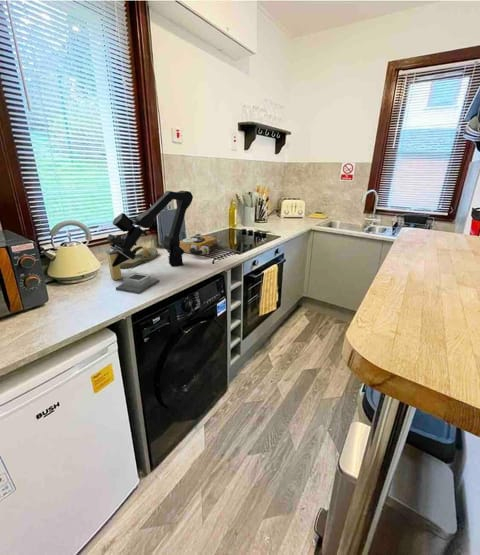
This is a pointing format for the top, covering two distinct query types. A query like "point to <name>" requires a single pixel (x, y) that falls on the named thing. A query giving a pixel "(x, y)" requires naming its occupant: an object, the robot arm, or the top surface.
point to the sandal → (140, 257)
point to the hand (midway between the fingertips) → (111, 265)
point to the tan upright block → (111, 257)
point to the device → (199, 244)
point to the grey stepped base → (137, 283)
